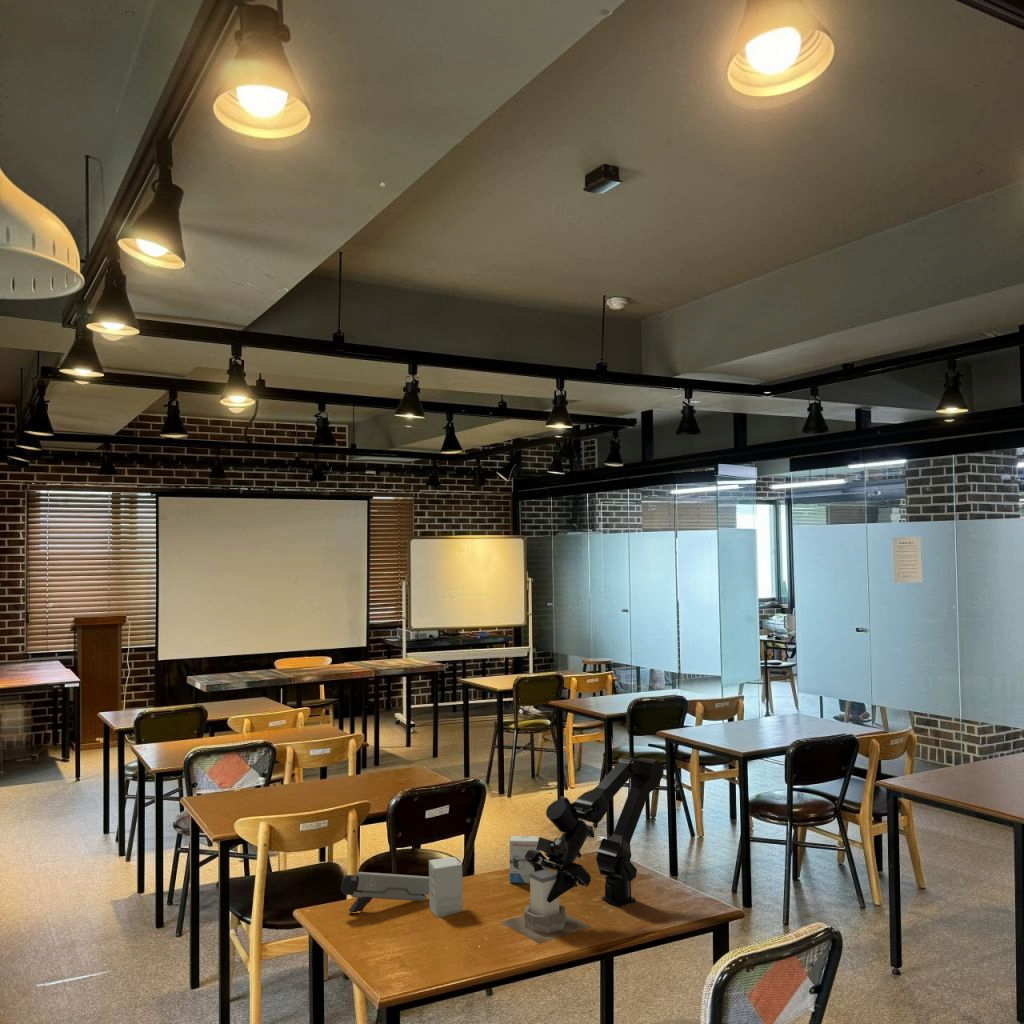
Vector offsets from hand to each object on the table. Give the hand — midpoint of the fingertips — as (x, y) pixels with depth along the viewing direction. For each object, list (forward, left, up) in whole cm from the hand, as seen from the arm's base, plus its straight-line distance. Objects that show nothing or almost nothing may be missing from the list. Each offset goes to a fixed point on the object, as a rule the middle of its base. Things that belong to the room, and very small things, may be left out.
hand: (540, 898), depth 215 cm
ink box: (-18, -31, -8) cm, 37 cm away
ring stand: (-1, 0, -8) cm, 8 cm away
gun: (+21, -38, -8) cm, 44 cm away
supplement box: (+12, -25, -8) cm, 29 cm away
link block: (-1, 0, -6) cm, 7 cm away
